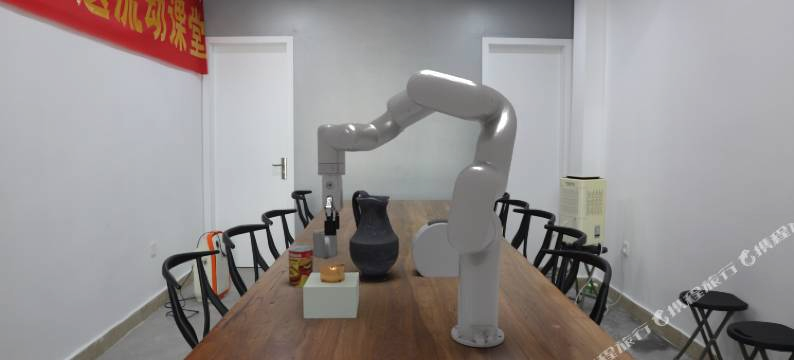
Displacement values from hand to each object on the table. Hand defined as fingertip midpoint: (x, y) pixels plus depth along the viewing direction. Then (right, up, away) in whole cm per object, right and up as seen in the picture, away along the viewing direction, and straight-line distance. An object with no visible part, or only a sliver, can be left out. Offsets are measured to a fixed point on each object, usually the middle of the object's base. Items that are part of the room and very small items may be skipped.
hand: (332, 231), depth 130 cm
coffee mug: (-12, -17, +64) cm, 68 cm away
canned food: (-14, -20, +25) cm, 35 cm away
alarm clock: (+34, -19, +38) cm, 54 cm away
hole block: (0, -22, +2) cm, 22 cm away
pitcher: (+9, -20, +34) cm, 40 cm away
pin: (0, -21, +2) cm, 21 cm away
